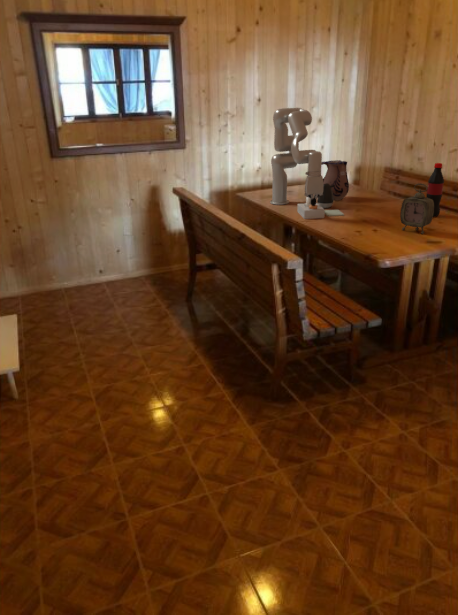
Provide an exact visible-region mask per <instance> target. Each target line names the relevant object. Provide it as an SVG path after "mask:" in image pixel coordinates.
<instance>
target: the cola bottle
mask: <svg viewBox="0 0 458 615" xmlns="http://www.w3.org/2000/svg"><path fill="white" fill-rule="evenodd" d="M433 166H434V167H433V168H434V170H433V171H432V173H431V175H430V177H429V179H428V181H427V190H426V198H430V199H432V200H433V202H434V213H433V218H435V217H438V216H439V214H440V211H441V208H440V203H441V200H442V197H443V192H444V191H443V190H444V184H445V178H444V175H443V173H442V168H443V163H441V162H436V163H435V164H434V165H433Z"/></svg>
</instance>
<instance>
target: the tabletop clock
mask: <svg viewBox="0 0 458 615" xmlns="http://www.w3.org/2000/svg"><path fill="white" fill-rule="evenodd" d="M416 186H424V187H425V190H422V189H421V188H419V189H417V188H416ZM413 189H414V190H415V191H416V193H415V194H414V195H413V196H410V197H407V198H404V199H403V200H402V203H401V206H400V207H401V208H400V216H399V217H400V222H401V224H403V225H404V226H402V228H401V230H402V231H405V230H406V228H407V226H408V227H412V228H415V231H419V230H420V228H421V230H420V231H421V232H420V233H421V234H422V235H424V234H425V231H424V227H426V226H428V225H430V224H431V223H432V220H433V218H434V217H433V213H434V202H433V200H432V199H430V198H427V196H426V195H425V194H424V192H427V189H428V185H426V184H424V183H417V184H415V185H414V187H413Z"/></svg>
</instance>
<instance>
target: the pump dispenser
mask: <svg viewBox="0 0 458 615" xmlns="http://www.w3.org/2000/svg"><path fill="white" fill-rule="evenodd" d="M334 186H335V185H331V186H330V185H329V184H328V183H325V184H323V195H321V196H319V197H318V198H317V199H316V203H317V204H319V205H320V206H321V207H322V208H323V209H330V208H331V207H332V206H333V204H334V201H335V200H334V197H333V191H332V187H334Z"/></svg>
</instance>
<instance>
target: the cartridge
mask: <svg viewBox="0 0 458 615" xmlns="http://www.w3.org/2000/svg"><path fill="white" fill-rule="evenodd" d="M313 198H314V194H313ZM305 203H306V207H309V205H311V198H310V197H308V196H305Z"/></svg>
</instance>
